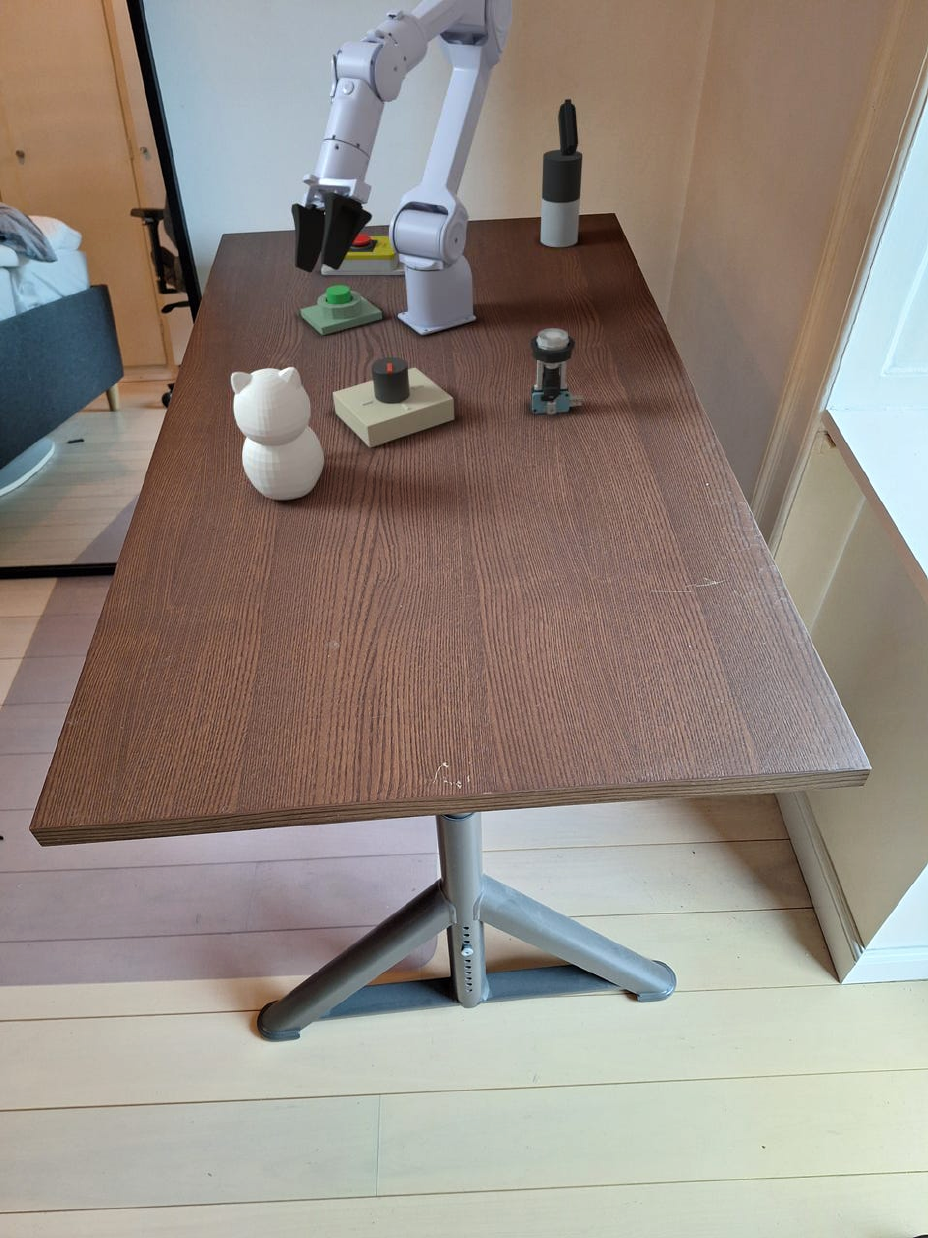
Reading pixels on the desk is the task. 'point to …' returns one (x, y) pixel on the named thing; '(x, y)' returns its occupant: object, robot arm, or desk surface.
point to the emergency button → (369, 258)
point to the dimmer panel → (393, 410)
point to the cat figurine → (277, 433)
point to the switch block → (340, 314)
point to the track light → (562, 184)
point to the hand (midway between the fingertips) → (316, 267)
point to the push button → (552, 372)
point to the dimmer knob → (390, 380)
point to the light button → (338, 294)
